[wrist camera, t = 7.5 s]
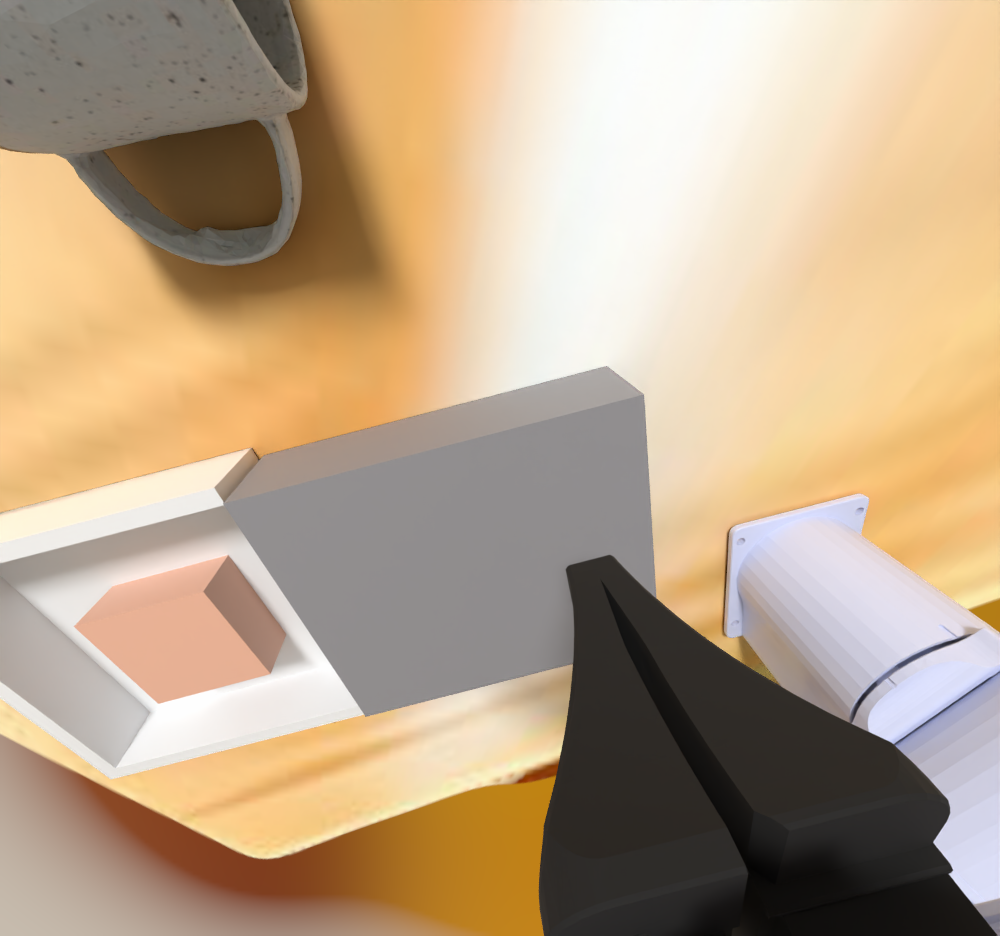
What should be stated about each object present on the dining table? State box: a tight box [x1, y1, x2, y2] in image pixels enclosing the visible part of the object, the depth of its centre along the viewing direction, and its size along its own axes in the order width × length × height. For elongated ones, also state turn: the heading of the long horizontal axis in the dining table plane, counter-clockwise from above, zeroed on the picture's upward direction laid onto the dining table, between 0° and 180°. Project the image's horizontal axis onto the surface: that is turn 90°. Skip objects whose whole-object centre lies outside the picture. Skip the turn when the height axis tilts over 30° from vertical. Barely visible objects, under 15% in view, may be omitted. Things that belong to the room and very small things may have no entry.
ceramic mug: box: [0, 0, 308, 266], centre depth 10 cm, size 11×8×8 cm
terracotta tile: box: [74, 555, 286, 704], centre depth 21 cm, size 6×6×2 cm
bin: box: [0, 448, 364, 779], centre depth 21 cm, size 15×14×4 cm
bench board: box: [223, 366, 656, 717], centre depth 21 cm, size 14×16×4 cm
